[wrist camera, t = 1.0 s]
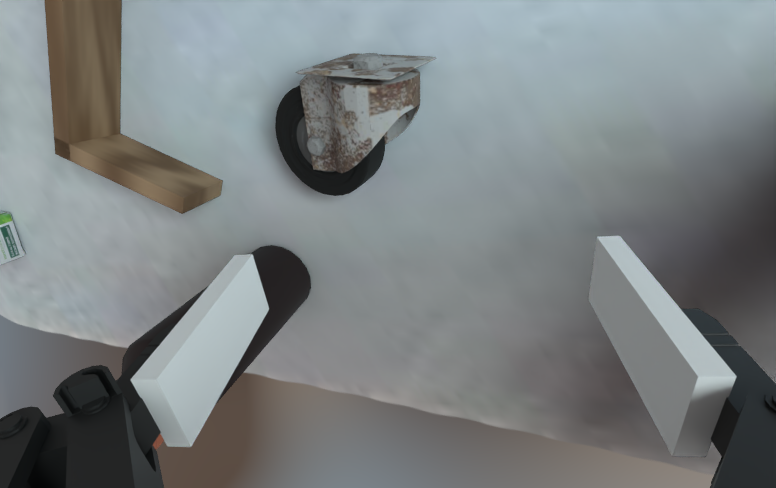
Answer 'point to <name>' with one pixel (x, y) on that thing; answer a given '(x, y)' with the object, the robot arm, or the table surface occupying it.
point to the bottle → (284, 296)
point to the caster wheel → (347, 118)
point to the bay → (107, 108)
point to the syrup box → (9, 239)
